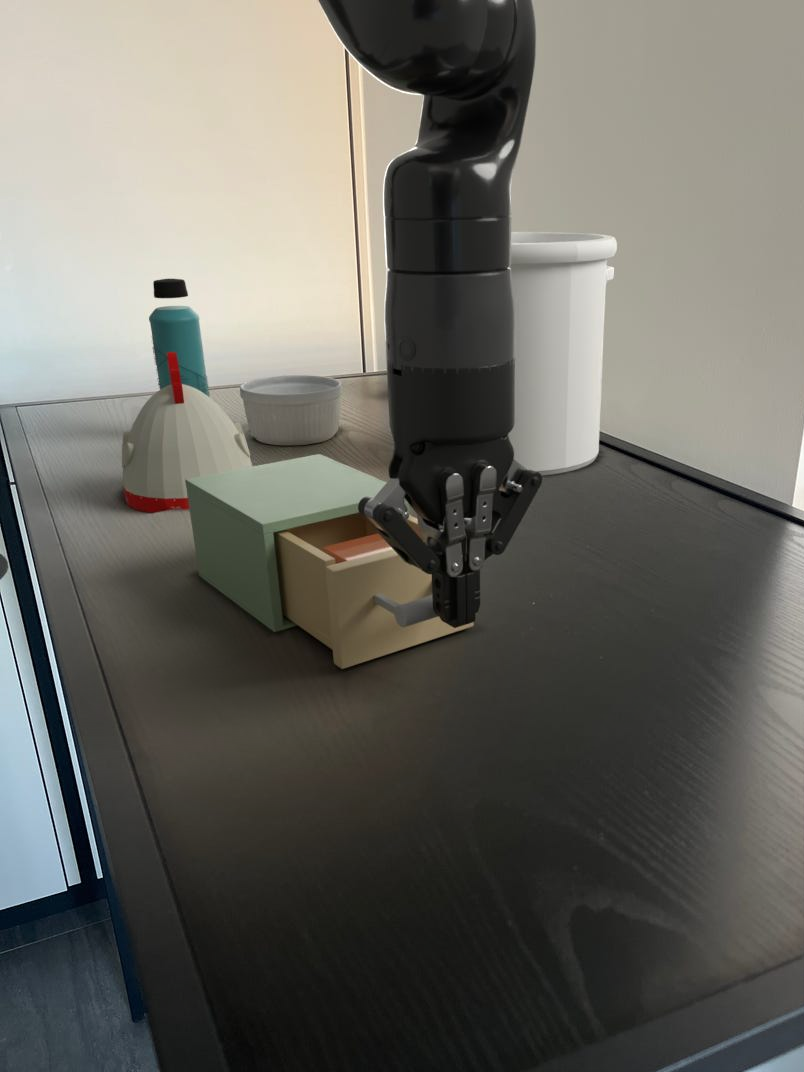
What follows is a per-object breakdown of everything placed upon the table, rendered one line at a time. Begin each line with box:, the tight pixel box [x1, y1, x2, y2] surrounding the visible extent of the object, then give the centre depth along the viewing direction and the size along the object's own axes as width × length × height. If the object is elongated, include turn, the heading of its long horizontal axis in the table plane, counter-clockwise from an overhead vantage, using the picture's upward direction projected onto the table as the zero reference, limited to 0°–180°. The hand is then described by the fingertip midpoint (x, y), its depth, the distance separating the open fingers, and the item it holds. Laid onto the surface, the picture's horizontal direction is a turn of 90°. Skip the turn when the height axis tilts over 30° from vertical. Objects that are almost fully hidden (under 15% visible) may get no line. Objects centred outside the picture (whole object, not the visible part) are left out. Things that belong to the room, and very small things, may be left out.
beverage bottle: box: [148, 278, 211, 398], centre depth 126 cm, size 6×7×20 cm
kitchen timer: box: [121, 352, 254, 514], centre depth 104 cm, size 14×14×15 cm
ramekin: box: [239, 374, 344, 446], centre depth 129 cm, size 13×13×7 cm
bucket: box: [508, 231, 618, 477], centre depth 114 cm, size 26×22×25 cm
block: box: [323, 533, 392, 564], centre depth 72 cm, size 5×5×5 cm
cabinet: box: [185, 453, 410, 633], centre depth 81 cm, size 15×13×9 cm
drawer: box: [273, 513, 475, 670], centre depth 72 cm, size 18×11×7 cm, turn 37°
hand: (456, 621), depth 64 cm, fingers closed
